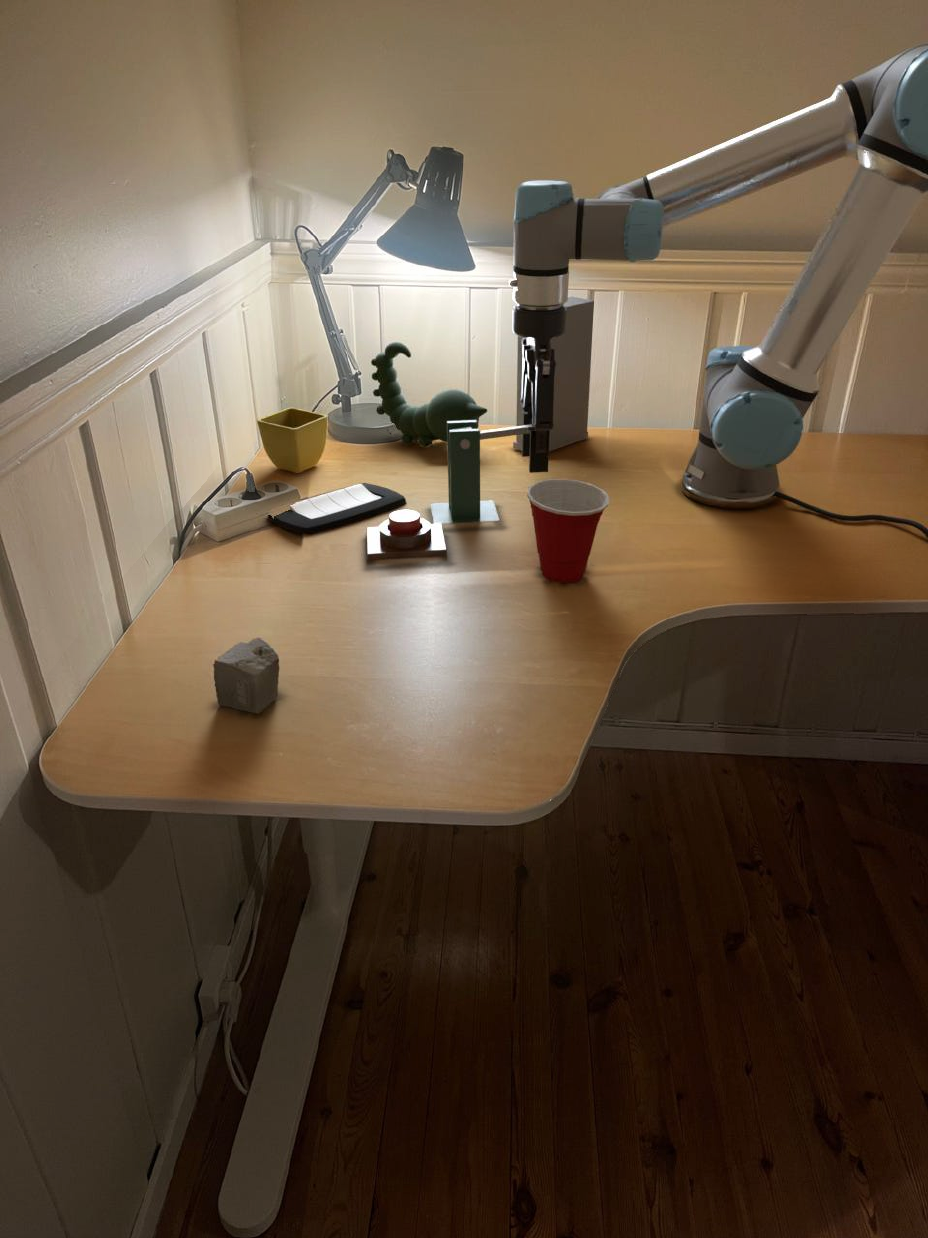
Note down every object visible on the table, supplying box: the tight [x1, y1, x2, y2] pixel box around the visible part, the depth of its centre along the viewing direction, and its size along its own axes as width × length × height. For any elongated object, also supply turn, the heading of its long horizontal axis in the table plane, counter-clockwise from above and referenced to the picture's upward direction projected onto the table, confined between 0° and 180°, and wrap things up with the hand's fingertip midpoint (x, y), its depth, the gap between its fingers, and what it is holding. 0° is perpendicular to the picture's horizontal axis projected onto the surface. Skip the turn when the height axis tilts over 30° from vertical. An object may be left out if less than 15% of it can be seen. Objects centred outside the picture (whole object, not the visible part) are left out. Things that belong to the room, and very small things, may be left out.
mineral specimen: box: [212, 637, 280, 715], centre depth 100 cm, size 7×9×8 cm
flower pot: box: [256, 407, 328, 474], centre depth 163 cm, size 9×9×9 cm
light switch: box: [267, 482, 407, 536], centre depth 147 cm, size 20×3×14 cm
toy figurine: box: [370, 341, 488, 448], centre depth 170 cm, size 9×19×25 cm
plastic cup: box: [526, 478, 610, 584], centre depth 125 cm, size 11×11×12 cm
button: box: [388, 509, 421, 534], centre depth 133 cm, size 4×4×2 cm
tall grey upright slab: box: [512, 296, 595, 452], centre depth 167 cm, size 14×6×25 cm, turn 133°
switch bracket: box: [429, 420, 501, 525], centre depth 141 cm, size 10×8×15 cm
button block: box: [366, 517, 448, 562], centre depth 134 cm, size 11×9×4 cm
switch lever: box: [453, 418, 532, 441], centre depth 138 cm, size 13×6×2 cm, turn 96°
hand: (534, 462), depth 141 cm, fingers closed on switch lever, 6 cm apart
